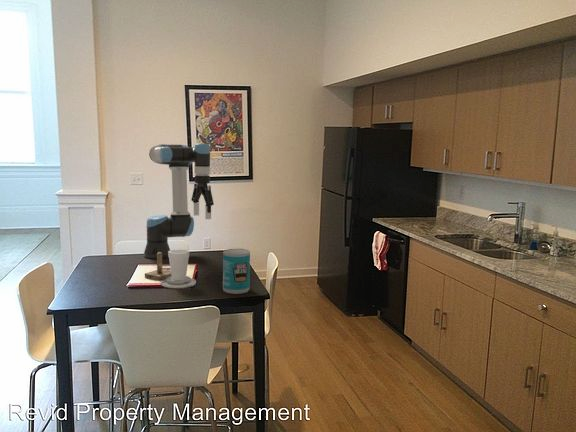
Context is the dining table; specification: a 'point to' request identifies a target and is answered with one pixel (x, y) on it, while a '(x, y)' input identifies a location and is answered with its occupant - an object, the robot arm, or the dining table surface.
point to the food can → (236, 271)
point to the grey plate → (178, 283)
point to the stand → (158, 270)
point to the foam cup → (178, 263)
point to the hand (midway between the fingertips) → (202, 217)
